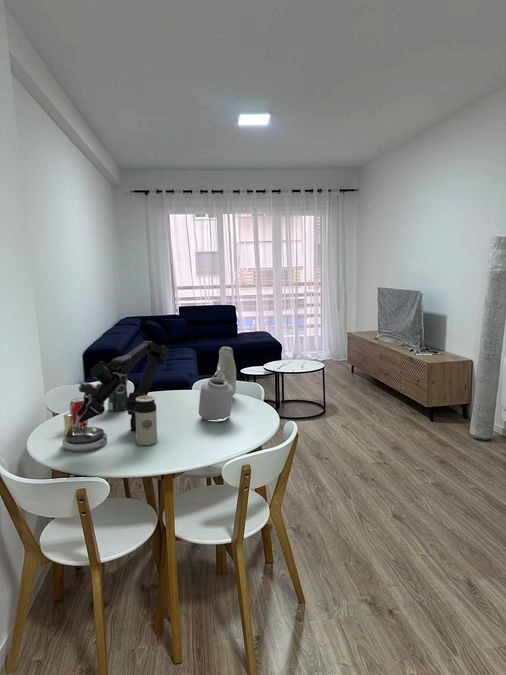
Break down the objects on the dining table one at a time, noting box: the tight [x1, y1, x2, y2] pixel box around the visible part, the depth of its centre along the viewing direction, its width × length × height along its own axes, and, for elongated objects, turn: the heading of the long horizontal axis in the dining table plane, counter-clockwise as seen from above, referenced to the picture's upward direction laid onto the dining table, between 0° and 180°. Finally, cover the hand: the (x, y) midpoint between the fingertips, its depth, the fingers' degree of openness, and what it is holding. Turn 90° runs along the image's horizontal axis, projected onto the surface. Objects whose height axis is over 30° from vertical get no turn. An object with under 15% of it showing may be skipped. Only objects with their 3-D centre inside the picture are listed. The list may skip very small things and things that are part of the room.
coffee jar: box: [107, 373, 129, 412], centre depth 214 cm, size 10×8×19 cm
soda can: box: [69, 397, 89, 429], centre depth 189 cm, size 7×7×12 cm
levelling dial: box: [63, 413, 105, 444], centre depth 169 cm, size 14×14×10 cm
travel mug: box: [135, 395, 158, 446], centre depth 171 cm, size 8×8×18 cm
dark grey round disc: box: [62, 432, 108, 454], centre depth 170 cm, size 16×16×3 cm
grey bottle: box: [216, 346, 237, 396], centre depth 234 cm, size 10×10×28 cm
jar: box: [198, 369, 234, 421], centre depth 198 cm, size 19×15×25 cm
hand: (78, 418), depth 167 cm, fingers open, 9 cm apart
